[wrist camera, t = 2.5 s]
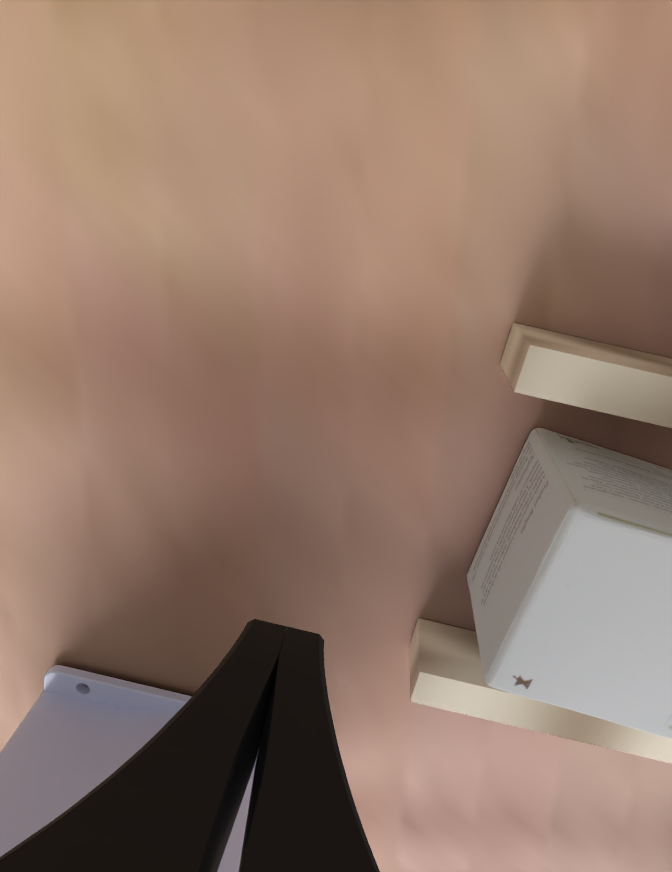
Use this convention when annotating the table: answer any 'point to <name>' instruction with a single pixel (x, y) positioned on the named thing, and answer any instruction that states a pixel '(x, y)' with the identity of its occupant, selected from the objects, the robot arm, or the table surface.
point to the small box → (580, 583)
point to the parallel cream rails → (458, 648)
